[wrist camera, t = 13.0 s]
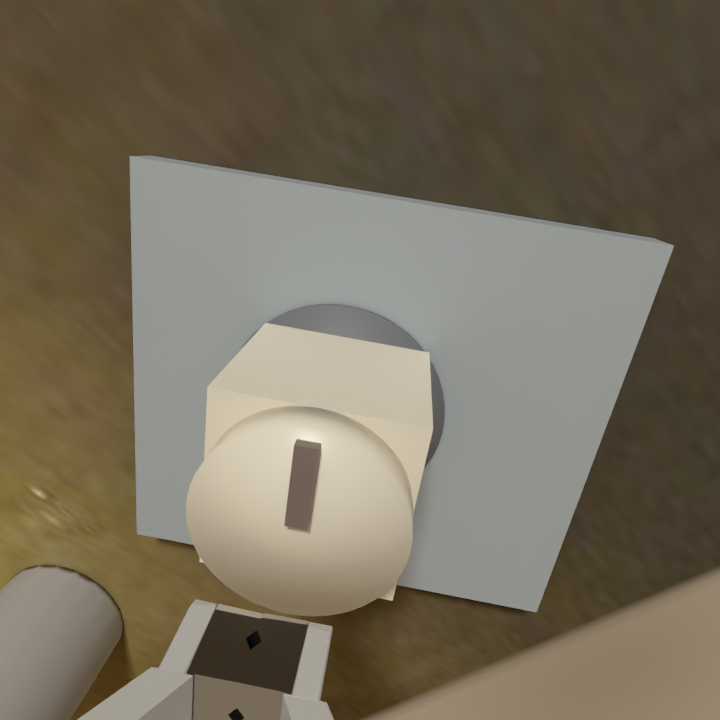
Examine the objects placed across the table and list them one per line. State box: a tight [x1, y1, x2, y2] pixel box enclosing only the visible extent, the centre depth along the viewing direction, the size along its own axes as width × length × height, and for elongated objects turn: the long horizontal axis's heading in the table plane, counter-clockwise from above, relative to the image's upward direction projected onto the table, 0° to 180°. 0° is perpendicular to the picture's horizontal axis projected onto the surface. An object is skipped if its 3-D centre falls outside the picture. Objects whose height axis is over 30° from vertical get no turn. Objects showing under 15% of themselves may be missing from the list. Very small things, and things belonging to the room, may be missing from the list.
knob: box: [186, 323, 433, 616], centre depth 17 cm, size 6×6×7 cm
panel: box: [130, 156, 674, 612], centre depth 19 cm, size 18×16×7 cm
